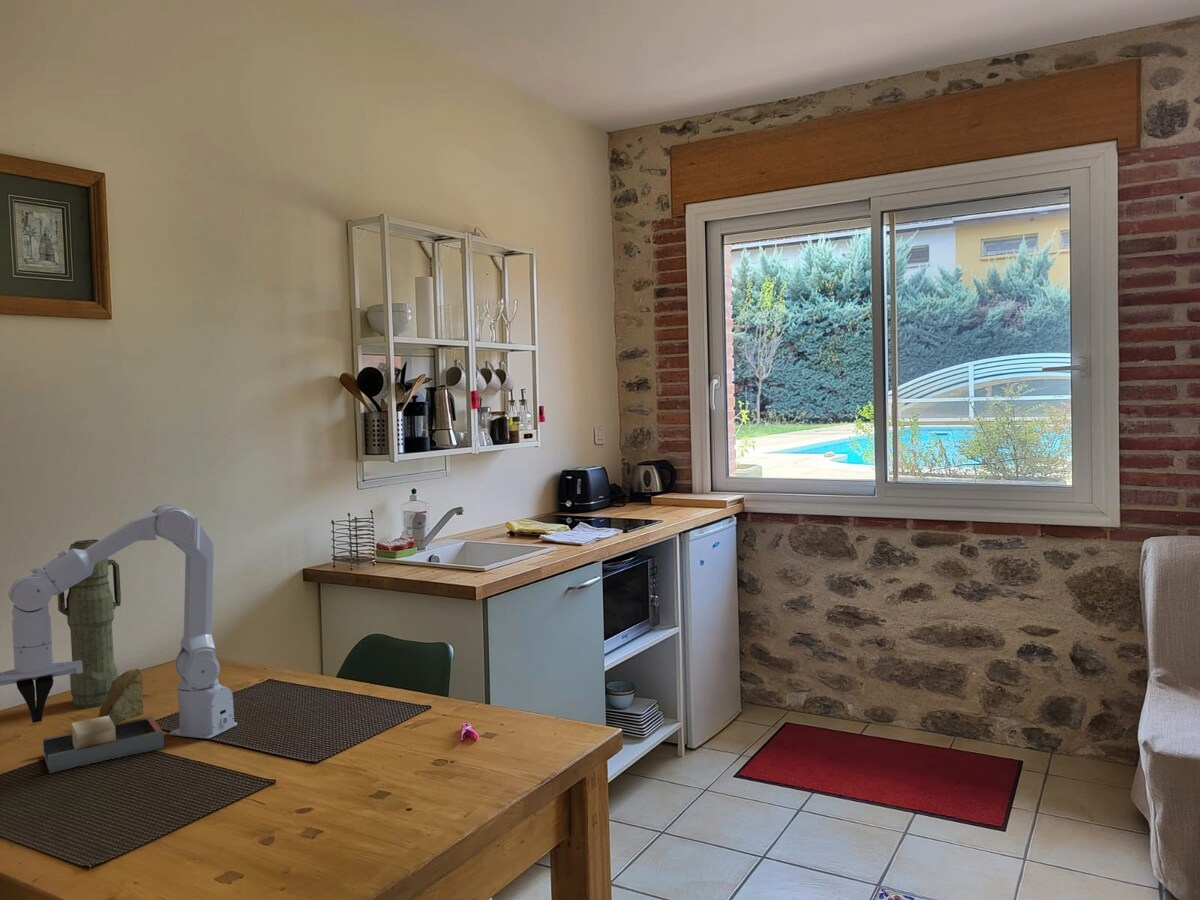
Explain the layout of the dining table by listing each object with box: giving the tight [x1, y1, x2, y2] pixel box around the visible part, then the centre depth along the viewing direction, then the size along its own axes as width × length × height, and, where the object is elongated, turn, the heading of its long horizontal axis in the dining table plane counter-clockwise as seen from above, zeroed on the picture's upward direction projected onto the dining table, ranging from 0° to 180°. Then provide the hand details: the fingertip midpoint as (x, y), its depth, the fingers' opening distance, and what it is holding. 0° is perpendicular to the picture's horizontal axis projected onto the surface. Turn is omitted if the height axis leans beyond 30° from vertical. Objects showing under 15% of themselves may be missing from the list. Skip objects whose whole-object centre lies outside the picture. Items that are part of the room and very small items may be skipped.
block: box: [71, 716, 116, 749], centre depth 162 cm, size 6×8×4 cm
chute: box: [42, 716, 165, 774], centre depth 163 cm, size 18×11×3 cm, turn 126°
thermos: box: [57, 539, 122, 709], centre depth 193 cm, size 9×12×35 cm
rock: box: [97, 668, 144, 724], centre depth 181 cm, size 11×9×10 cm
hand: (36, 720), depth 157 cm, fingers closed
